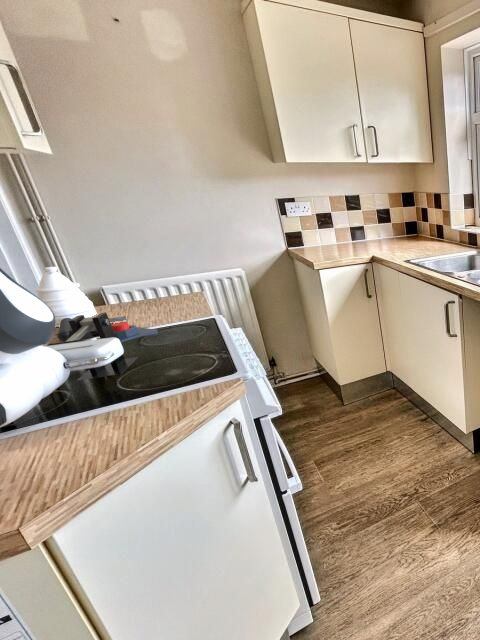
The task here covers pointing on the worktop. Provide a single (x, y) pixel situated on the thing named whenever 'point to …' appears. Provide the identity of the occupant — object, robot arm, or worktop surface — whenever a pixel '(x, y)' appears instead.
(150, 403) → the worktop surface
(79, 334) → the lever
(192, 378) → the worktop surface
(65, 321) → the door handle
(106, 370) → the bracket
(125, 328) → the button
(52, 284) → the honey pot
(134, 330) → the button box
